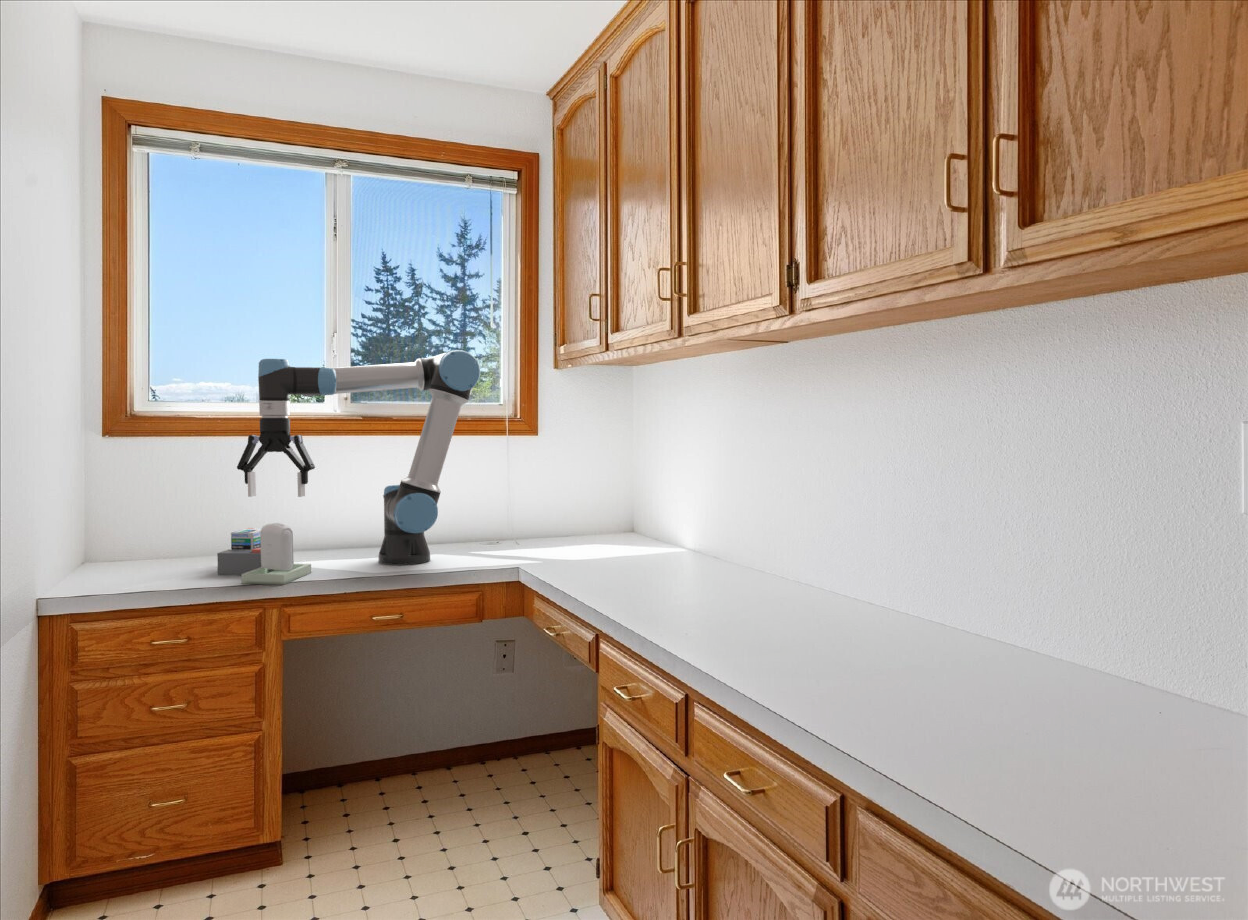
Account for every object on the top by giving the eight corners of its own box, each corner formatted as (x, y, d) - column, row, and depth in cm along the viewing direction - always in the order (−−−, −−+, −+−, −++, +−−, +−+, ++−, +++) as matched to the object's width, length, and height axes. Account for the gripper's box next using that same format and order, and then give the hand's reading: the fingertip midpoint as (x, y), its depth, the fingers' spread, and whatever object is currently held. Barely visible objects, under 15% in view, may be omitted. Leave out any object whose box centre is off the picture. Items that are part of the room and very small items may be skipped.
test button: (269, 565, 234) (268, 547, 234) (263, 567, 231) (263, 549, 231) (257, 565, 234) (256, 547, 234) (251, 567, 231) (251, 549, 231)
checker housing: (277, 571, 236) (277, 550, 235) (267, 575, 230) (267, 553, 229) (229, 570, 236) (228, 549, 236) (217, 574, 230) (217, 552, 230)
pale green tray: (311, 572, 234) (311, 563, 234) (284, 584, 217) (284, 574, 217) (271, 572, 234) (271, 563, 234) (241, 583, 218) (241, 574, 218)
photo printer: (258, 568, 227) (257, 522, 226) (272, 565, 230) (271, 521, 230) (282, 572, 221) (281, 525, 220) (296, 569, 225) (295, 523, 224)
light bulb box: (254, 570, 237) (253, 532, 237) (230, 570, 237) (229, 532, 237) (270, 563, 248) (270, 527, 247) (248, 563, 248) (247, 527, 247)
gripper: (221, 417, 220) (224, 497, 222) (314, 417, 219) (316, 497, 220) (236, 417, 228) (238, 494, 229) (326, 417, 227) (328, 495, 228)
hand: (276, 496), depth 225 cm, fingers open, 13 cm apart
